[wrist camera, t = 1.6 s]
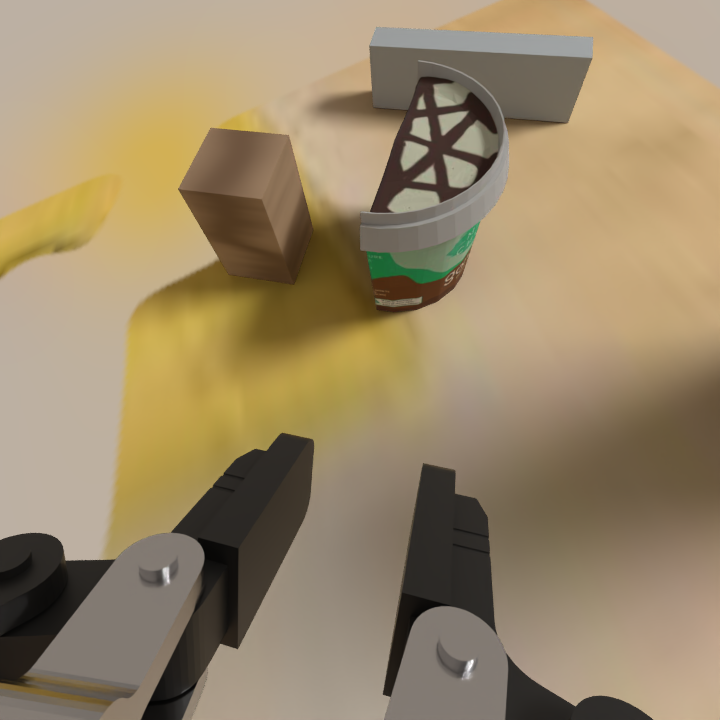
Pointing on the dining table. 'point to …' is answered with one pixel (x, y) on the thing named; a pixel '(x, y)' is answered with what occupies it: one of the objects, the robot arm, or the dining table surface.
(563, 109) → the rail
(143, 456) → the dining table surface
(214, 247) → the walnut block
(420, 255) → the food container
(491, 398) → the dining table surface
